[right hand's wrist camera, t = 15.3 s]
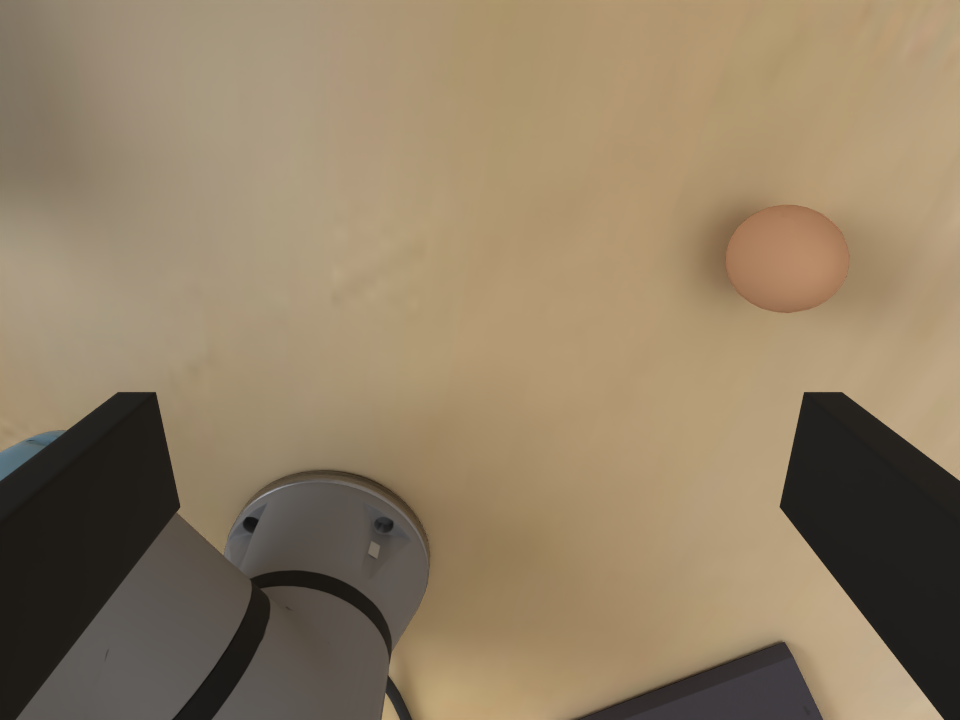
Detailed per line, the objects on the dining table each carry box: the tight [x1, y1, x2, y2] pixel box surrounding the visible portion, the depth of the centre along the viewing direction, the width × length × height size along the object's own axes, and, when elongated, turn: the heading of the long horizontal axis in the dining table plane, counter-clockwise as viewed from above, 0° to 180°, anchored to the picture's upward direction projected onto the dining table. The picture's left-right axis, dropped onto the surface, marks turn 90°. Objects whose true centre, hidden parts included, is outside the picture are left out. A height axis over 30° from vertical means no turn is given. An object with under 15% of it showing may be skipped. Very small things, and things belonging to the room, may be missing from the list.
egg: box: [726, 205, 849, 313], centre depth 35 cm, size 6×6×8 cm
